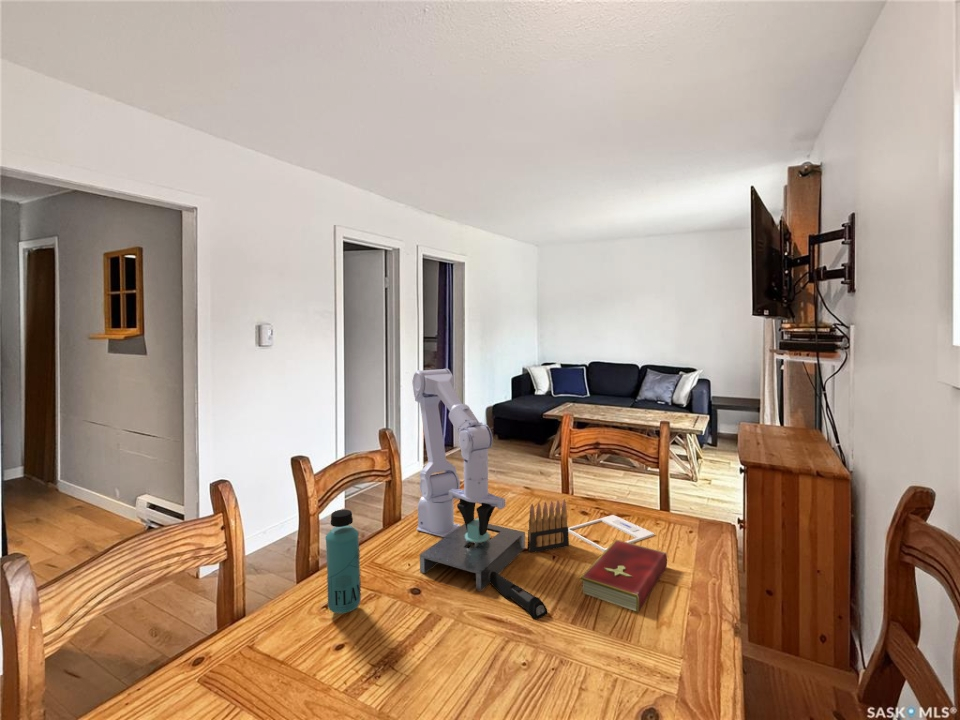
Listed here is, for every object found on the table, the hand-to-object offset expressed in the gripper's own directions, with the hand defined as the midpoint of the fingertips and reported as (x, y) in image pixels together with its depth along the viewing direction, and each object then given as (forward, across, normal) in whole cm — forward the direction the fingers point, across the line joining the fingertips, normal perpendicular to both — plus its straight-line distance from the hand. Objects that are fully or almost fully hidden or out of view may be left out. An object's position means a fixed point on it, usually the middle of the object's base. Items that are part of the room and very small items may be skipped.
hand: (476, 532), depth 113 cm
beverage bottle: (+7, +12, +31) cm, 34 cm away
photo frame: (+7, -24, -29) cm, 38 cm away
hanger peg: (+4, 0, 0) cm, 5 cm away
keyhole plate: (+6, 0, +1) cm, 6 cm away
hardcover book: (+7, -33, -7) cm, 35 cm away
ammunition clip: (+7, -13, -13) cm, 20 cm away
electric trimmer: (+7, -16, +11) cm, 20 cm away
